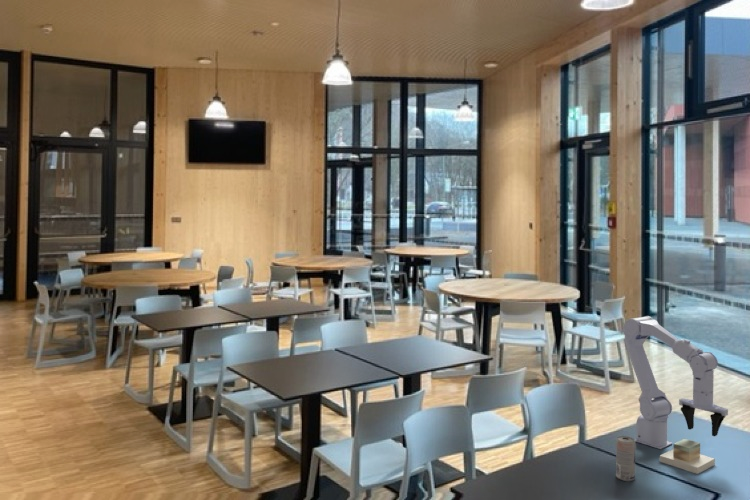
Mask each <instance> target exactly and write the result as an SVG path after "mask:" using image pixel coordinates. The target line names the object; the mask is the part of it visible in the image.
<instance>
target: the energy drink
mask: <svg viewBox="0 0 750 500" xmlns="http://www.w3.org/2000/svg"><path fill="white" fill-rule="evenodd" d="M635 440H636V439H635V438H633V437H630V436H625V435H621V436H618V437H616V440H615V441H616V442H615V449H616V450H615V453H616V454H615V477H616V478H617V479H618V480H620V481H623V482H633V481H634V480H635V479H636V441H635Z"/></svg>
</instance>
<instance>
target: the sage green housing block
mask: <svg viewBox="0 0 750 500" xmlns="http://www.w3.org/2000/svg"><path fill="white" fill-rule="evenodd" d="M672 445H673V449H672V450H673V457H674V458H677V459H680V460H683V461H686V462H691V461H693V460H695V459H697V458H699V457H700V454H701V443H700V442H698V441H694V440H691V439H688V438H683V439H681V440H678V441H677V442H675V443H672Z"/></svg>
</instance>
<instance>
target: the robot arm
mask: <svg viewBox="0 0 750 500" xmlns="http://www.w3.org/2000/svg"><path fill="white" fill-rule="evenodd" d="M621 328H622V330H623V335H624V344H625V348H626V350H627V353H628V357H629V359H630V363H631V365H632V368H633V370H634V374H635V376H636V380H637V382H638V385H639V388H640V390H641V394H640V396H639V398H638V402H639V411H640V413H641V414H639V416H638V417H637V418H636V423H635V425H636V427H635V437H636V438H635V439H634V440H635V443H639V444H643V445H645V446H650V447H652V448H655V449H659V450H662V449H665V448H666V447H668V446H670V445H673V442H672V441H669V440H668V419H669V415H671V414H672V411H673V406H672V403H671V401H670V400H669V399H668V397H667V395H666V393H665V392H664V391H662V390H661V389H659V387H658V384H657V381H656V379H655V376H654V372H653V369H652V367H651V365H650V362H649V359H648V356H647V354H646V350H645V348H644V344H645V342H646V339H648V338H649V337H650V336H652V337H654V338H656V339H658V341H661V342H662V343H664V344H665V345H667V346H669V347H671V348H672V352H673V354H674V355H676V356H677V357H679V358H680V359H682V360H683V361H685V362H686V363H688V364H689V367H690V368H691V372H692V376H693V377H692V380H693V381H692V399H688V398H683V397H682V398H679V399H678V404H679V406H681V407H680V411H681V412H682V415H683V416H684V419H685V422H686V425H687V430H693V429H694V426H695V423H694V418H695V411H696V409H698V410H701V411H705V412H708V413H713V414H710V415H709V416H710V420H711V436H713V437H717V436H718V434H719V429H720V427H721V425H722V423H723V421H724V419H725V418H726V416H728V415H729V409H728V408H725V407H723V406H719V405H717V404H715V403H714V372H715V371H714V370H715V369H716V368H717V367H718V363H719V362H718V359H717V357H716V356H715V355H714V354H713V352H711V351H704V350H703V349H701V348H698V347H697V346H696V345H694V344H692V343H691V340H689V339H685V338H684V339H683V338H677V337H676V336H675V335H673V333H671V332H670V331H668V330H667V329H666V328H664V327H663V326H662V325H660V324H659V322H658V320H657V319H654V318H653V317H652V316H649V315H645V316H641V317H640V316H639V317H634V318H632V317H631V318H628V319H626V320H625V321H624V323H623V324H622V327H621Z"/></svg>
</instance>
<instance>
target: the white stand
mask: <svg viewBox="0 0 750 500" xmlns="http://www.w3.org/2000/svg"><path fill="white" fill-rule="evenodd" d="M659 462H660V463H663V464H666V465H669V466H672V467H674V468H678V469H682V470H685V471H687V472H689V473H694V474H697V475H698V474H700V473H702V472H704V471H706V470H708V469H710V468H712V467H714V466H715V465H716V463H715V462H716V460H715V458H713V457H710V456H707V455H704V454H701V453H700V457H699V458H697V459H695V460H693V461H691V462H686V461H683V460H680V459H677V458H674V457H673V449H671V450H668V451H667V452H664V453H662V454H660V455H659Z"/></svg>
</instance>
